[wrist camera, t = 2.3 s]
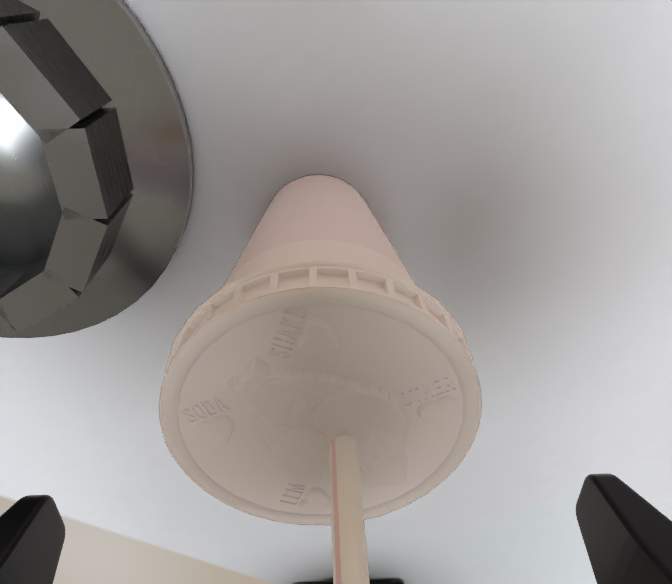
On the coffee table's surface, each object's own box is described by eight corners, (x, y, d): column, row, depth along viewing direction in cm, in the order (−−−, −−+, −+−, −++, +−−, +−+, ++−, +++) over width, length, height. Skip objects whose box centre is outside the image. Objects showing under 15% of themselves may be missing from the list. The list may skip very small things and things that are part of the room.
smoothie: (323, 330, 21) (336, 810, 9) (188, 230, 18) (-41, 702, 6) (446, 220, 19) (686, 663, 7) (311, 89, 16) (306, 414, 4)
